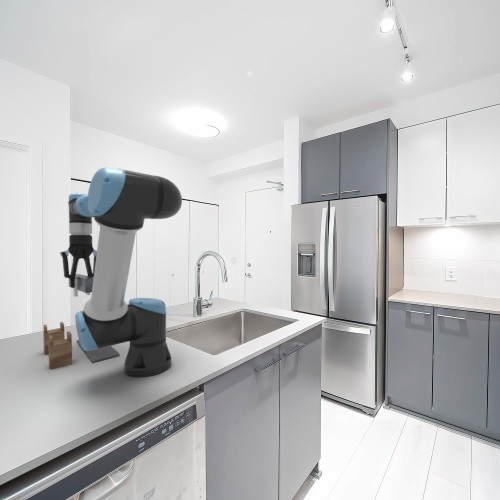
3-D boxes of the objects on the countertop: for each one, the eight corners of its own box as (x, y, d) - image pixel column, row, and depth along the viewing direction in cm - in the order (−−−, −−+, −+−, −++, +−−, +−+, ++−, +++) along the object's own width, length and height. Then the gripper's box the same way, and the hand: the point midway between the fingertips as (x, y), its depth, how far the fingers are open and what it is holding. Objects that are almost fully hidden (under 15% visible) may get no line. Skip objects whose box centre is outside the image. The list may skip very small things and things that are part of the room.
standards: (72, 363, 94) (71, 334, 94) (50, 369, 90) (49, 338, 89) (63, 347, 109) (62, 321, 108) (43, 351, 104) (43, 325, 104)
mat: (119, 355, 101) (119, 354, 101) (92, 363, 95) (92, 361, 95) (100, 336, 121) (100, 335, 121) (76, 341, 115) (76, 340, 115)
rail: (96, 291, 97) (96, 277, 97) (85, 293, 94) (85, 278, 94) (78, 285, 113) (78, 273, 113) (68, 286, 111) (68, 274, 111)
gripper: (101, 235, 112) (102, 291, 112) (52, 234, 100) (53, 297, 100) (107, 234, 107) (108, 293, 107) (56, 233, 95) (58, 299, 95)
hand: (82, 295), depth 104 cm, fingers closed on rail, 3 cm apart
